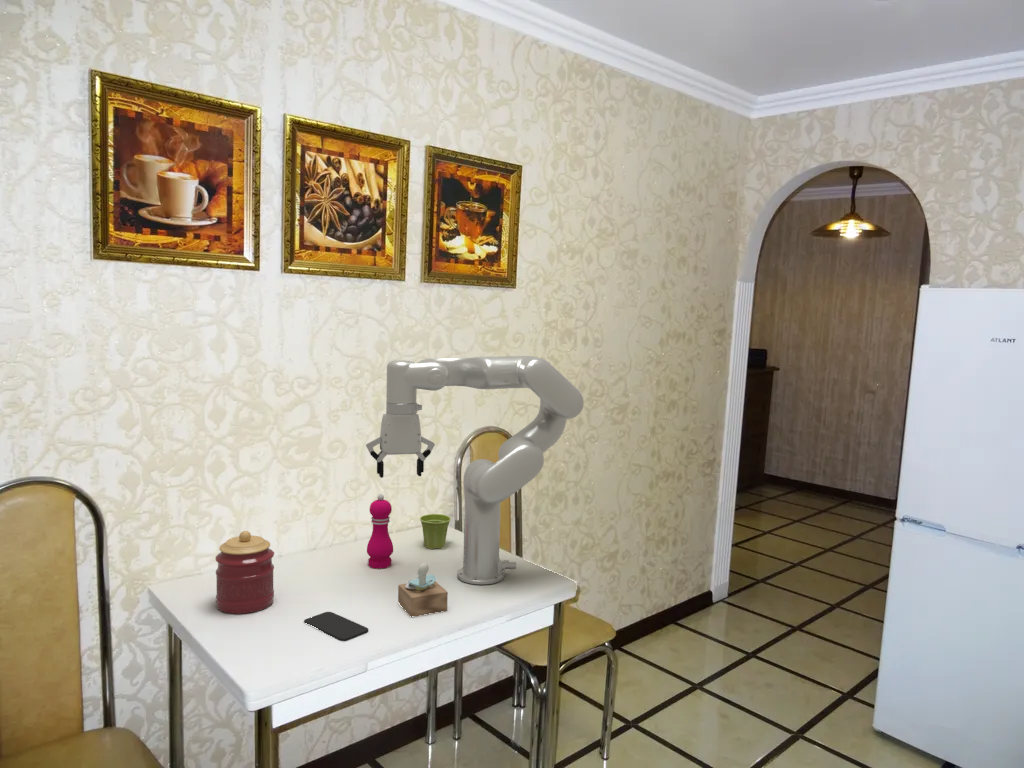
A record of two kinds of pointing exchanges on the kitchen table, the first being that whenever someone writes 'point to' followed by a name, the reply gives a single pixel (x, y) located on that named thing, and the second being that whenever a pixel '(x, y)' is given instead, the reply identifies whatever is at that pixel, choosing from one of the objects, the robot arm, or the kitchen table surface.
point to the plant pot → (435, 530)
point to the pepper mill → (380, 534)
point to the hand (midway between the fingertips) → (400, 475)
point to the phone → (337, 626)
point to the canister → (244, 574)
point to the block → (423, 599)
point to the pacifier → (421, 579)
